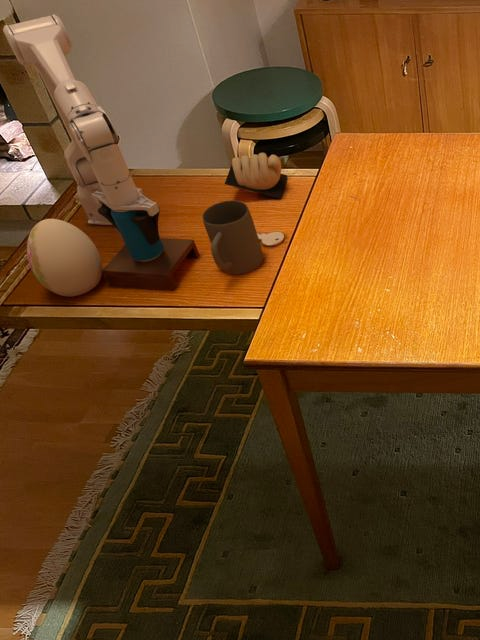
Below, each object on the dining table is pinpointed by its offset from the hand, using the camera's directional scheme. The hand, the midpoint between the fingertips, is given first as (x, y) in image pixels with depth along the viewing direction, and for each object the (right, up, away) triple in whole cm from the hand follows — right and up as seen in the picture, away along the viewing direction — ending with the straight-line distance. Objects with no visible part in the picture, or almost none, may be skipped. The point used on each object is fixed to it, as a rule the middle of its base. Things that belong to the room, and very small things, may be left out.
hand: (141, 238), depth 143 cm
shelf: (0, -6, +5) cm, 8 cm away
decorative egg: (-14, -9, +3) cm, 17 cm away
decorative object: (+16, +23, +27) cm, 39 cm away
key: (+21, +4, +14) cm, 26 cm away
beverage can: (0, -3, +3) cm, 4 cm away
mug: (+18, -6, +5) cm, 19 cm away
